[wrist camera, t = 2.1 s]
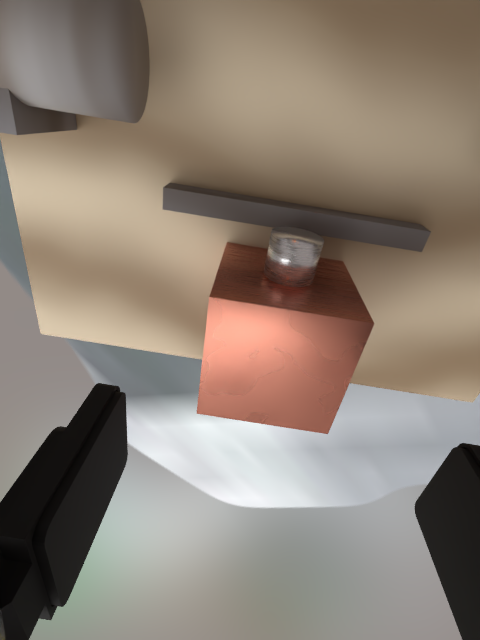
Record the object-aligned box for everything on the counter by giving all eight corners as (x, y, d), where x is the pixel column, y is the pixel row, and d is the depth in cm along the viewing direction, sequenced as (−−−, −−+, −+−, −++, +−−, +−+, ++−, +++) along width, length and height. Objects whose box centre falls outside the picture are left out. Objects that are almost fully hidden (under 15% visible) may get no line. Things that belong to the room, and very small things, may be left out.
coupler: (211, 361, 18) (193, 439, 13) (231, 206, 13) (214, 249, 9) (305, 376, 18) (317, 458, 14) (354, 226, 14) (393, 278, 9)
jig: (-46, -236, 9) (-343, -564, 5) (776, -86, 9) (1223, -261, 5) (53, 321, 19) (-14, 386, 14) (461, 386, 19) (520, 470, 15)
